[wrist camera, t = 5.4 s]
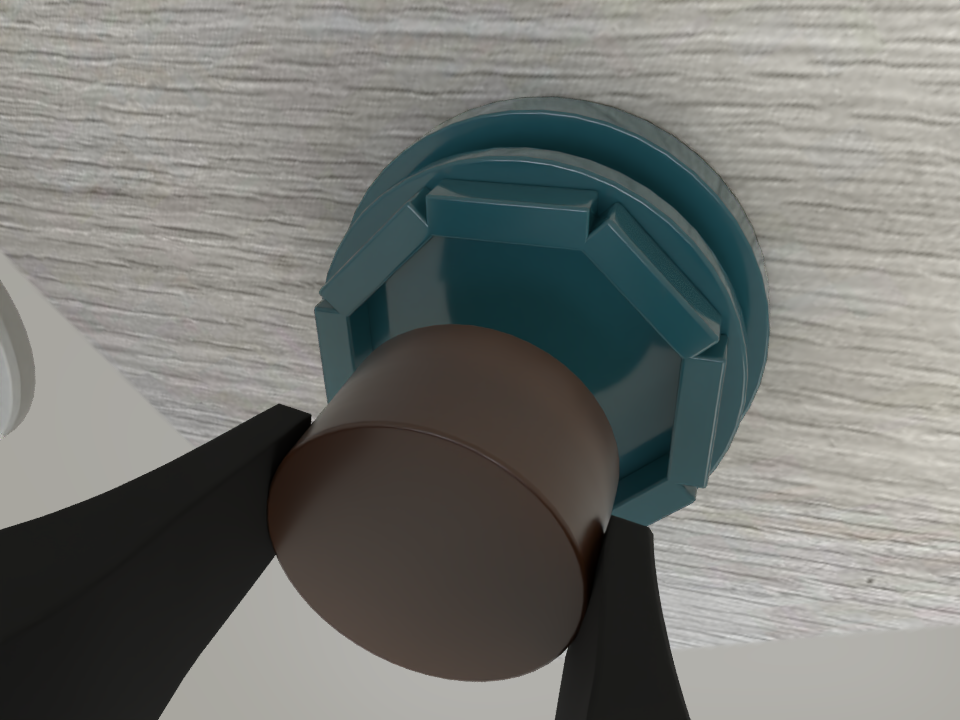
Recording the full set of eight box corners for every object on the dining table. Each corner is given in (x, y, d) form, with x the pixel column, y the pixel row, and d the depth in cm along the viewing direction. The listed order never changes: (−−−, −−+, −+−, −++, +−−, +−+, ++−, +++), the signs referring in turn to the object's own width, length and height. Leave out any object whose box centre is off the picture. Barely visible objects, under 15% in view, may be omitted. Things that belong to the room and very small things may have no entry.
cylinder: (481, 592, 17) (431, 717, 14) (295, 418, 16) (208, 520, 13) (683, 483, 14) (664, 617, 11) (471, 264, 13) (401, 357, 10)
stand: (544, 527, 23) (507, 636, 20) (288, 277, 21) (201, 351, 18) (866, 345, 18) (888, 454, 14) (557, -13, 16) (503, 18, 13)
